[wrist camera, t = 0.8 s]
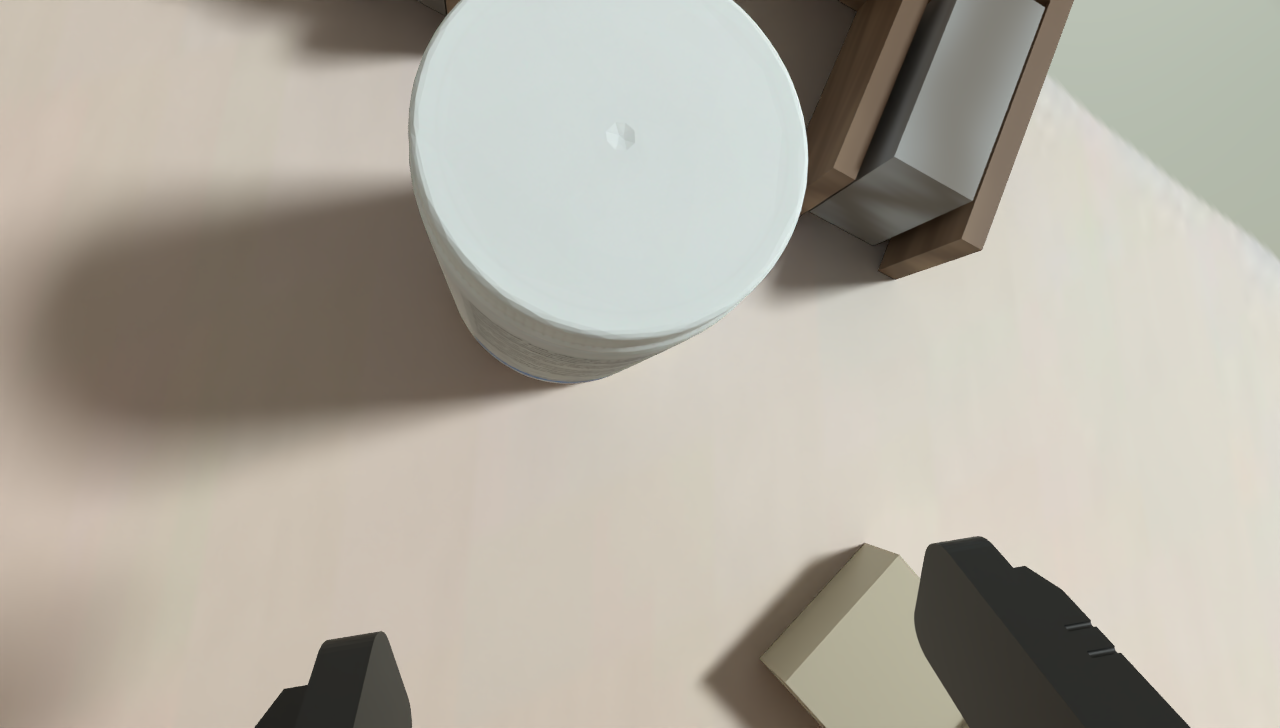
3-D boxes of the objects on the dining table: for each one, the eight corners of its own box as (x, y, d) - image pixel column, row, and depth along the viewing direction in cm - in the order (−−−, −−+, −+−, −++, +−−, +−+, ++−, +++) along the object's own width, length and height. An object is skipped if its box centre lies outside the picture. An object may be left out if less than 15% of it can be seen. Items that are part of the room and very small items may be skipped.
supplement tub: (708, 311, 31) (894, 220, 16) (530, 428, 29) (566, 440, 14) (592, 128, 30) (679, -130, 16) (403, 234, 28) (308, 46, 14)
